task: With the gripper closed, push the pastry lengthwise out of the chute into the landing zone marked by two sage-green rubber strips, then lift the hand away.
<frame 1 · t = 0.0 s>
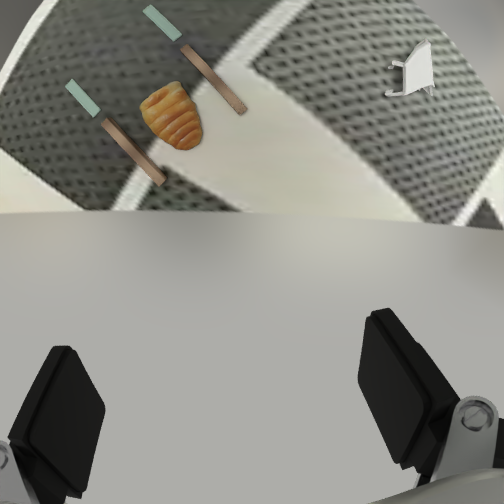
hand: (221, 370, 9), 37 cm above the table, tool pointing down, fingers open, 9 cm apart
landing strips: (120, 59, 36), on the table
pastry: (174, 114, 40), on the table
chute: (173, 114, 40), on the table
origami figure: (405, 69, 39), on the table
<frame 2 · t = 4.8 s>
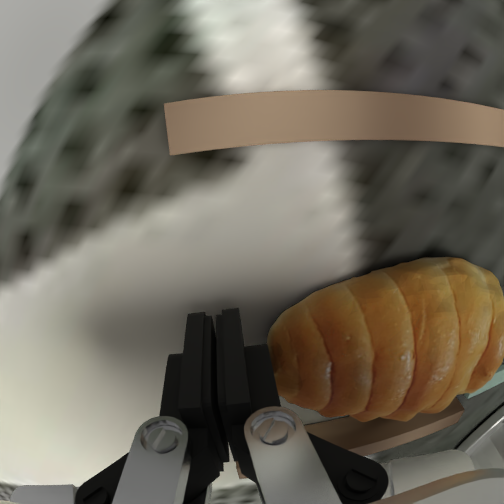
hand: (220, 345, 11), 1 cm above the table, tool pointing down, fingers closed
pastry: (390, 326, 12), on the table, touching gripper
chute: (371, 312, 12), on the table
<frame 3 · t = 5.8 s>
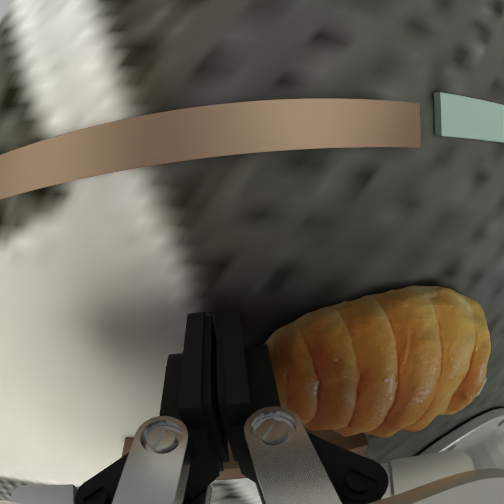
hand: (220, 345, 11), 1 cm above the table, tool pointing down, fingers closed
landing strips: (476, 291, 12), on the table
pastry: (377, 347, 13), on the table
chute: (219, 336, 12), on the table
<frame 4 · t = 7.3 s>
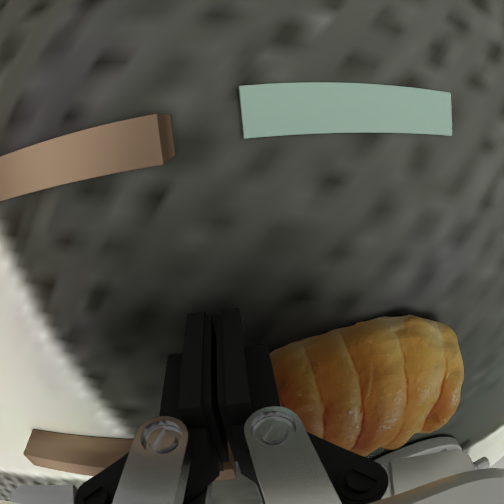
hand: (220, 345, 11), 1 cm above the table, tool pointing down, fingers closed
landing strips: (353, 317, 12), on the table
pastry: (353, 371, 14), on the table
chute: (66, 346, 11), on the table
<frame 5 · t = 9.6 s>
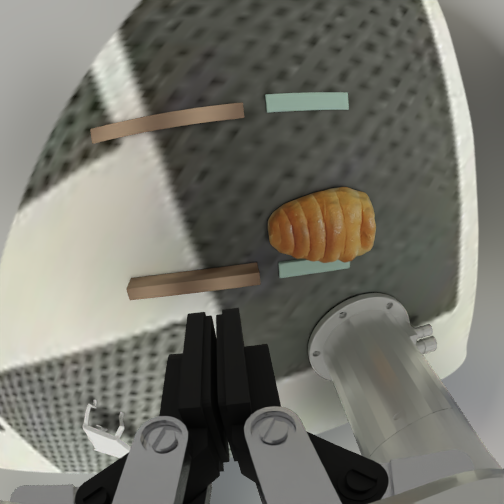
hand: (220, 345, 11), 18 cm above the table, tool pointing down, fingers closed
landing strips: (312, 187, 28), on the table
pastry: (323, 222, 30), on the table
chute: (179, 202, 27), on the table
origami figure: (119, 423, 39), on the table
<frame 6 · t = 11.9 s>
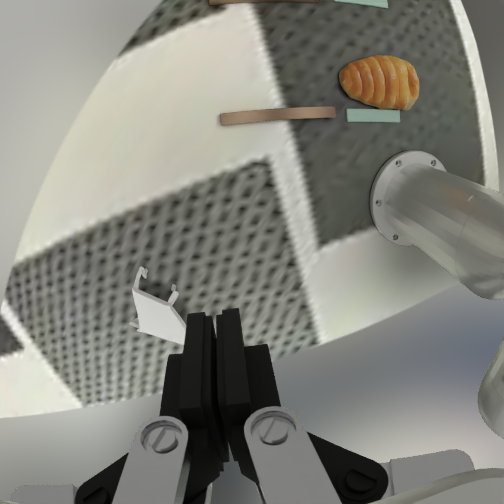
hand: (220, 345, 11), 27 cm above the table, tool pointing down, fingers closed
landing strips: (368, 54, 30), on the table
pastry: (378, 84, 32), on the table
chute: (270, 52, 30), on the table
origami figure: (167, 304, 41), on the table
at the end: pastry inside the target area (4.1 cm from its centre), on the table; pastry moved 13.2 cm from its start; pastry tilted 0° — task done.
